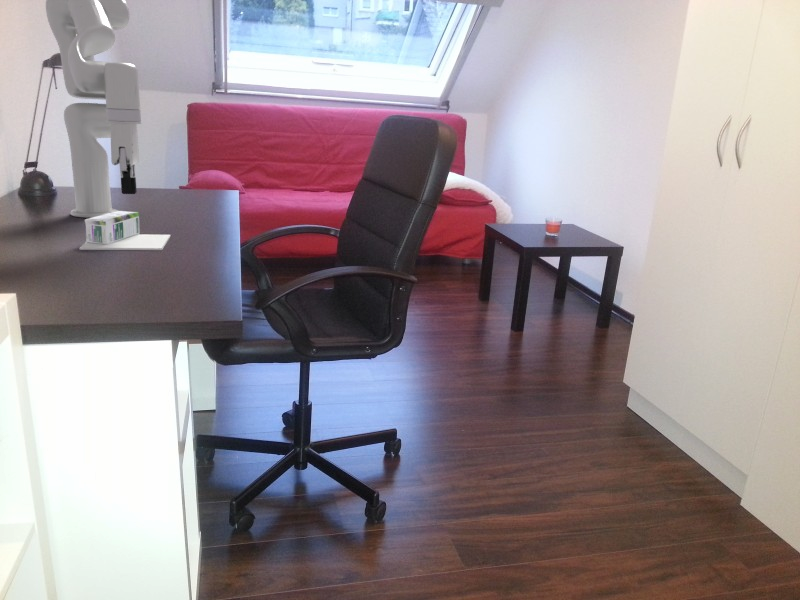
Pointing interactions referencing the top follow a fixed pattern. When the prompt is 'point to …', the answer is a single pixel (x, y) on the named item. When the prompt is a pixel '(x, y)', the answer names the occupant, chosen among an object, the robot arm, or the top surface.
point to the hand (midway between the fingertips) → (129, 193)
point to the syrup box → (111, 227)
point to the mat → (131, 243)
